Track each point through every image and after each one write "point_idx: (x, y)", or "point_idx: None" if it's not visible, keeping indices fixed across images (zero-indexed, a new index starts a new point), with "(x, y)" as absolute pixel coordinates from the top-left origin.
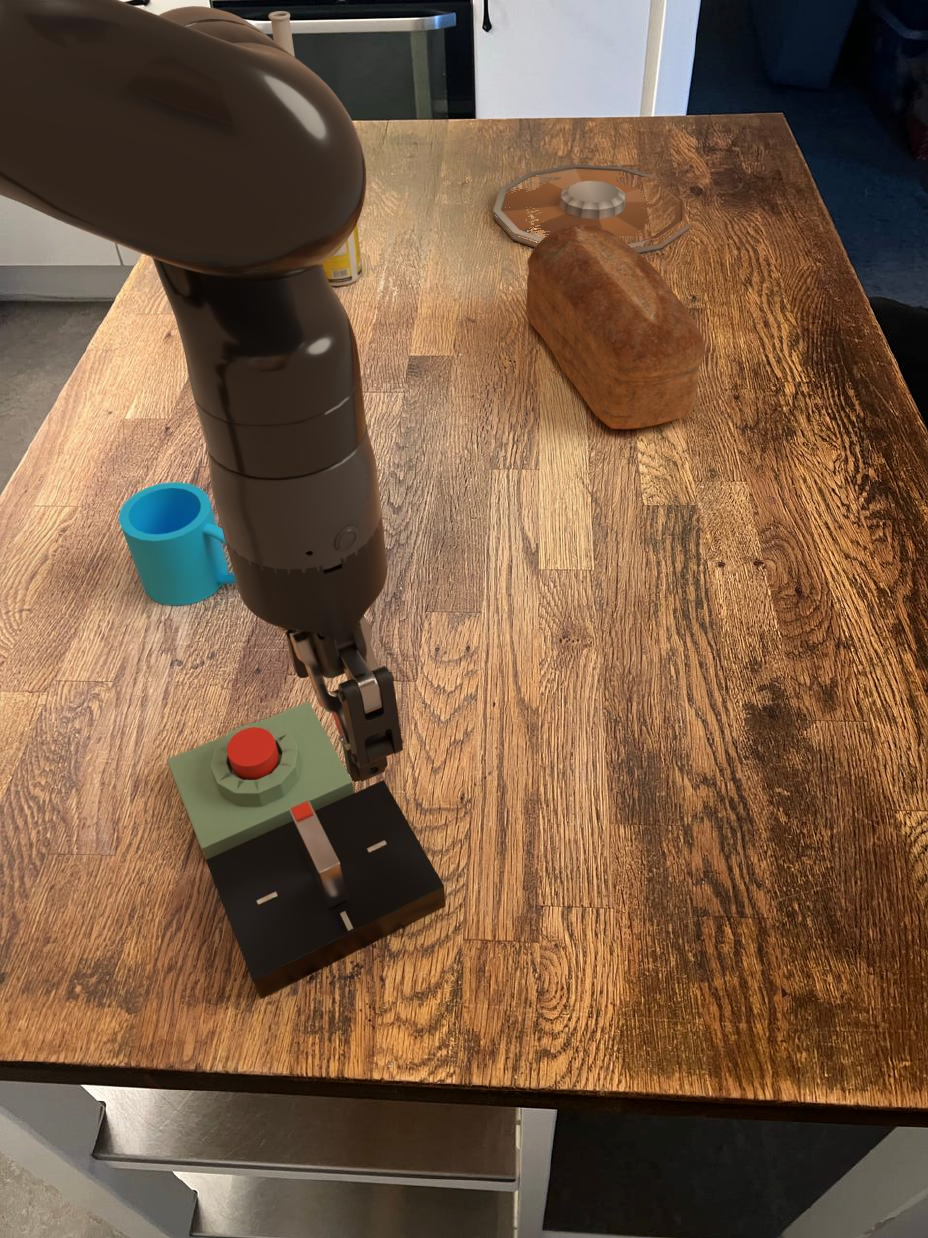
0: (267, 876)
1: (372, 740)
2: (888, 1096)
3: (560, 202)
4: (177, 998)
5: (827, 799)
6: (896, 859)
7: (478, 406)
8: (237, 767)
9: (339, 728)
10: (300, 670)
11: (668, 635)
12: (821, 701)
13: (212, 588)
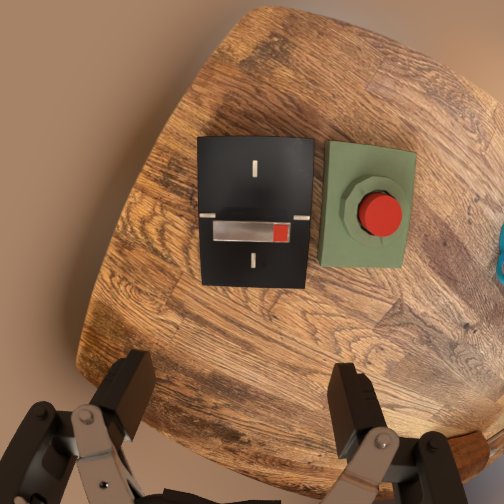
0: (274, 176)
1: (50, 443)
2: (76, 363)
3: (495, 447)
4: (234, 89)
5: (185, 427)
6: (152, 423)
7: (472, 406)
8: (373, 197)
9: (89, 431)
10: (338, 375)
11: (301, 432)
12: (230, 448)
13: (502, 246)
